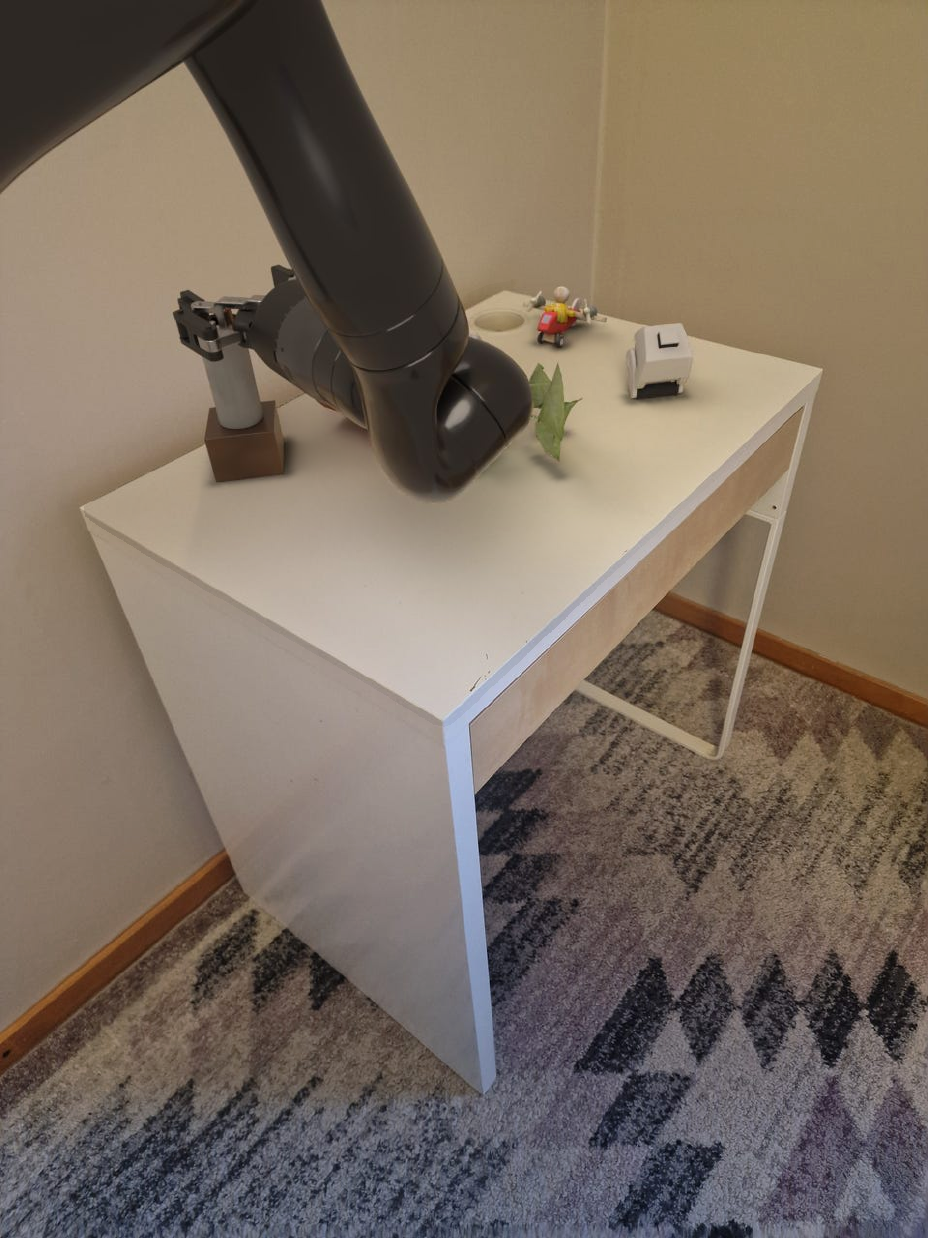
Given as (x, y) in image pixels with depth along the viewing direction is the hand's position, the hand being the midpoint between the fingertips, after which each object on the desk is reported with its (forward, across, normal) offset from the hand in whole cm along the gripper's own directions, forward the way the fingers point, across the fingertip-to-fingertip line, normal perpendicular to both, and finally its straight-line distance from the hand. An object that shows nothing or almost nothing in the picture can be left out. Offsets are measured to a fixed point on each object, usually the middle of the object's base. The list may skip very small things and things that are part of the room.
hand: (231, 289), depth 74 cm
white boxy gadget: (-12, -43, +20) cm, 49 cm away
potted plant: (-7, -19, +20) cm, 29 cm away
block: (+6, 0, +20) cm, 21 cm away
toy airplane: (+8, -46, +20) cm, 51 cm away
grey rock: (+10, -33, +20) cm, 40 cm away
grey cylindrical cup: (+6, 0, +15) cm, 17 cm away
